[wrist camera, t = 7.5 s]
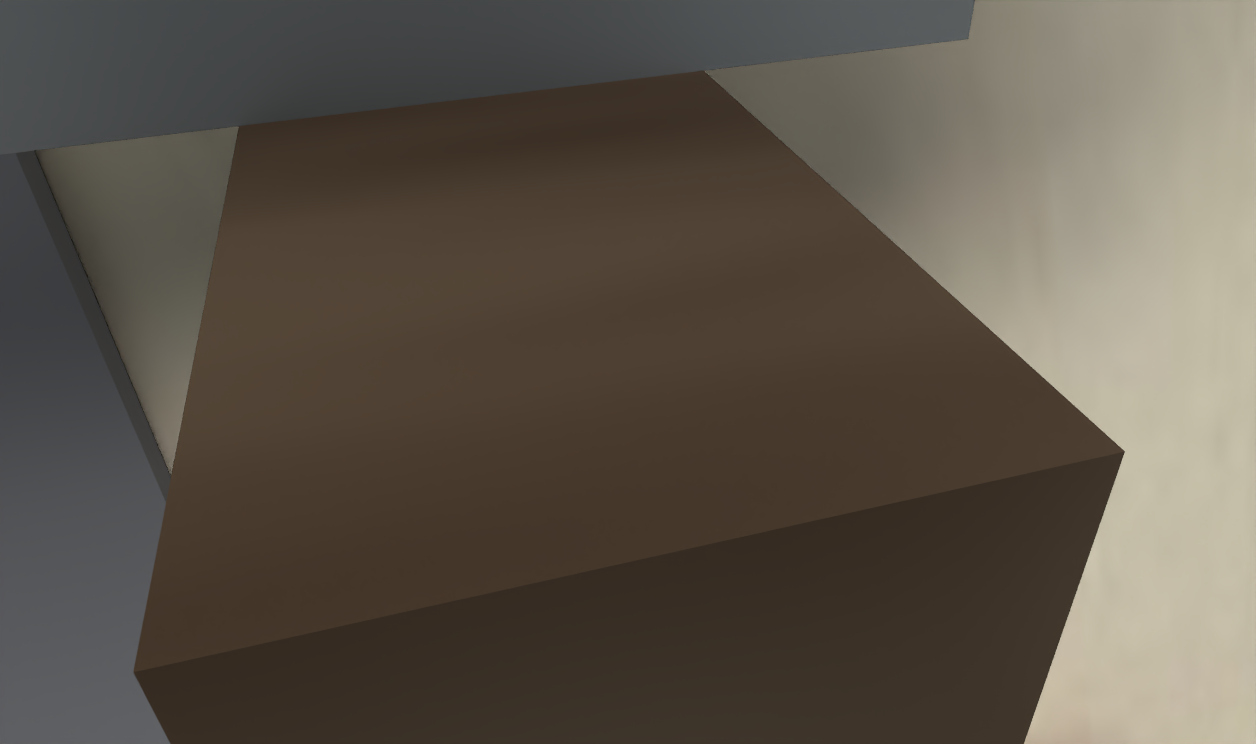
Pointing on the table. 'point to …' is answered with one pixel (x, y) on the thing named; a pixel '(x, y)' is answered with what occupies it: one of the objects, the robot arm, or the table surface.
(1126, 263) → the table surface
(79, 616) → the grey rectangular plate
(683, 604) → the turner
